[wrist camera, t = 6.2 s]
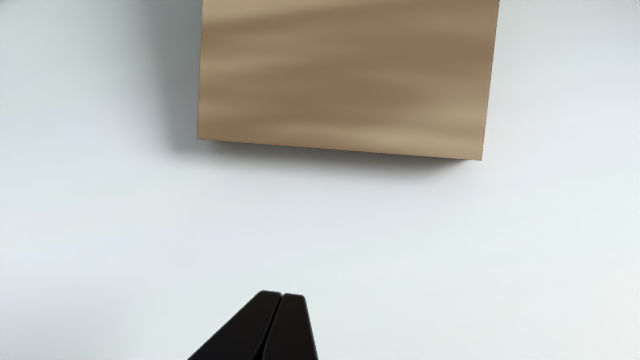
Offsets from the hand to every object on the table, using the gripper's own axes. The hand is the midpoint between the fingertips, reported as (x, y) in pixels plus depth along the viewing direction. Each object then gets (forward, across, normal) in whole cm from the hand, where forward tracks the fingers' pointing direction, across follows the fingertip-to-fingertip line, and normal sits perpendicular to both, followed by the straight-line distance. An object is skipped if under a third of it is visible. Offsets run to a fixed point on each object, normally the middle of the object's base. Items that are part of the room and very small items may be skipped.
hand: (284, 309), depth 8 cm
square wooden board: (+9, 0, +1) cm, 9 cm away
